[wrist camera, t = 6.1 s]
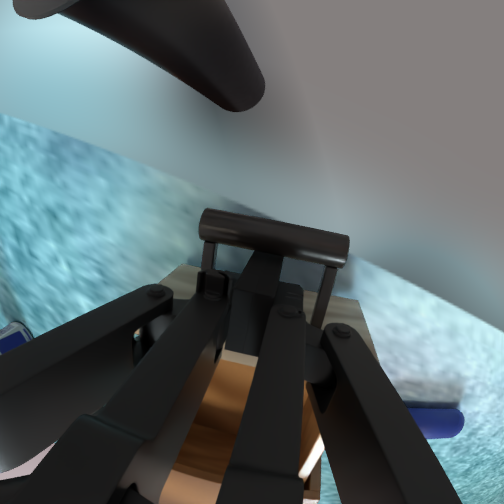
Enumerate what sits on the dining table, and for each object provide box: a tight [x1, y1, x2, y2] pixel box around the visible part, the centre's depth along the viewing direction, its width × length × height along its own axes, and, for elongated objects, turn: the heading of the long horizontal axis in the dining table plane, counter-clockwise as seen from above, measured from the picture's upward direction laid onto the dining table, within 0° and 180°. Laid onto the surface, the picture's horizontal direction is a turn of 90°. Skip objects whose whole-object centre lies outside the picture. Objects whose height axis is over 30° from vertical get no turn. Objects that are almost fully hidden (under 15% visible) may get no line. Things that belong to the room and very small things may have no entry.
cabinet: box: [159, 456, 321, 504], centre depth 22 cm, size 17×14×10 cm
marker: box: [407, 408, 464, 439], centre depth 21 cm, size 3×9×3 cm, turn 80°
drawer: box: [135, 208, 380, 483], centre depth 18 cm, size 20×12×8 cm, turn 171°
